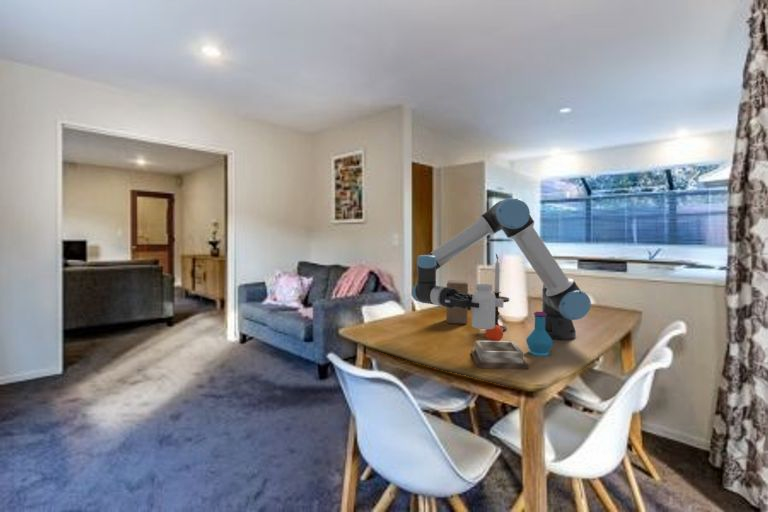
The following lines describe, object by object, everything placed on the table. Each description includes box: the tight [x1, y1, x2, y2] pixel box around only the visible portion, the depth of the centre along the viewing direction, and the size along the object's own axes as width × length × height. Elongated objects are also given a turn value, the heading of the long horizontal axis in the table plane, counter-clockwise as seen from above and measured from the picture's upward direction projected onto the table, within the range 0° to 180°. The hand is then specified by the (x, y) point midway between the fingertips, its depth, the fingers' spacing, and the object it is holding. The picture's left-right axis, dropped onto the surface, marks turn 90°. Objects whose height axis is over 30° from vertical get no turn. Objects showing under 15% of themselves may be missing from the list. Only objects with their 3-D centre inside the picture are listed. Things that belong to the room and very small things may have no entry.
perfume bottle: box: [525, 311, 554, 357], centre depth 144 cm, size 9×9×15 cm
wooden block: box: [445, 279, 469, 325], centre depth 194 cm, size 10×10×20 cm
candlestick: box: [492, 253, 510, 333], centre depth 178 cm, size 11×11×35 cm
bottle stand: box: [470, 340, 529, 370], centre depth 136 cm, size 16×16×5 cm
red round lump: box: [485, 325, 504, 341], centre depth 160 cm, size 8×7×7 cm
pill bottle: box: [471, 283, 496, 330], centre depth 138 cm, size 8×8×15 cm
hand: (495, 305), depth 134 cm, fingers closed on pill bottle, 8 cm apart
